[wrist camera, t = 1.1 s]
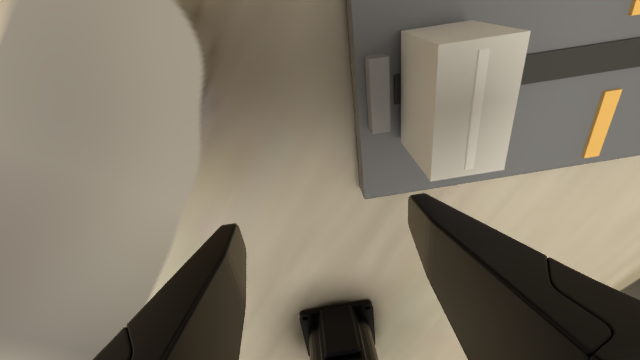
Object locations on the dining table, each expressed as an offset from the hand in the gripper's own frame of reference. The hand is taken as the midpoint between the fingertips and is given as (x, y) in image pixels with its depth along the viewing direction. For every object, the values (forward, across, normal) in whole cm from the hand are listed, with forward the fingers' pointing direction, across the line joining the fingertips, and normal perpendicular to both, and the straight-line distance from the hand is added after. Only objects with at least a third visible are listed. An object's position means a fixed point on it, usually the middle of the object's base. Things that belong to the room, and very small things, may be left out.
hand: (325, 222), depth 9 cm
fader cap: (+10, -7, 0) cm, 12 cm away
